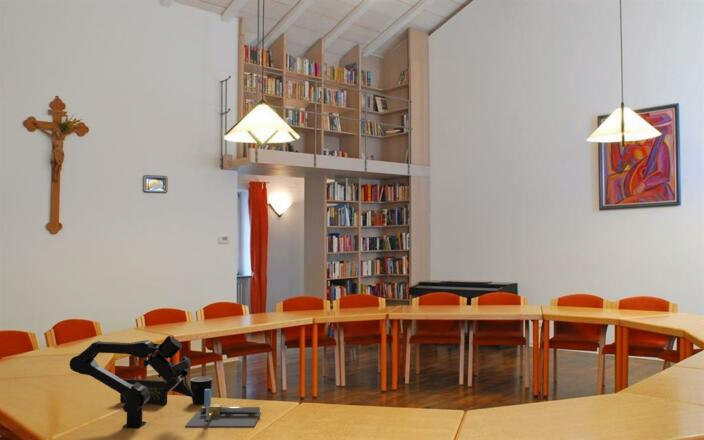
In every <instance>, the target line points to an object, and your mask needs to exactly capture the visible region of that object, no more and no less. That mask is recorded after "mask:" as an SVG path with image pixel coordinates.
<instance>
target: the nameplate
mask: <svg viewBox="0 0 704 440" xmlns="http://www.w3.org/2000/svg"><path fill="white" fill-rule="evenodd" d="M122 380H124V381H126V382H127V383H129V384H132V385H134V384H136V383H137V382H139V383H140V384H141V385H143V386H145V387H147V388H146V389H148V390H149V392H150V398H149V400H148V401H147V402H146V403H145V405H152V406H153V405H154V406H165V405H167V404H168V393H167V394H166V393H164V392H163V391H162V387H163V386H164V385H165V384H166V381H165V380H160V379H159V380H158V379H156V380H155V379H140V378H139V379H137V378H123V379H122ZM119 400H120V403H121V404H126V403H127V401H126V400H125V398H124V397H123V395H122V394H120V393H119Z"/></svg>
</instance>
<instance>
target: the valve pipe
mask: <svg viewBox="0 0 704 440" xmlns="http://www.w3.org/2000/svg"><path fill="white" fill-rule="evenodd" d="M199 412H200V414H201V415H204V414H206V406H204V405H202V406H201V405H200V410H199ZM260 412H261V408H260V406H222V403H220V404H219V403H218V404H217V403H216V404H215V403H214V404H213V403H211V405H210V406H209V416H210V417H220V416H221V414H225V417H232V415H233V414H248V417H254V416H255V414H260Z"/></svg>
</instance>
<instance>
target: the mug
mask: <svg viewBox="0 0 704 440" xmlns="http://www.w3.org/2000/svg"><path fill="white" fill-rule="evenodd" d="M212 380H213V379H212V377H209V376H196V377H192V378H191V379H190V384H189V385H190V386H189V387H190V389H191V391H192V393H193V396H192V397H191V401H192V403H193V404H194V405H199V406H201V405H202V406H204V393H205V389H211V390H212V388H213V387H212V384H213V381H212Z"/></svg>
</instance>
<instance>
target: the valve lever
mask: <svg viewBox="0 0 704 440" xmlns="http://www.w3.org/2000/svg"><path fill="white" fill-rule="evenodd" d="M211 401H212V388H211V389H205V393H204V404H203V406H205V407H206V417H205V419H204V420H205V422H209V421H210V419H211V418H210V416H209V406H210V405H211V404H212V402H211Z"/></svg>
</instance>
